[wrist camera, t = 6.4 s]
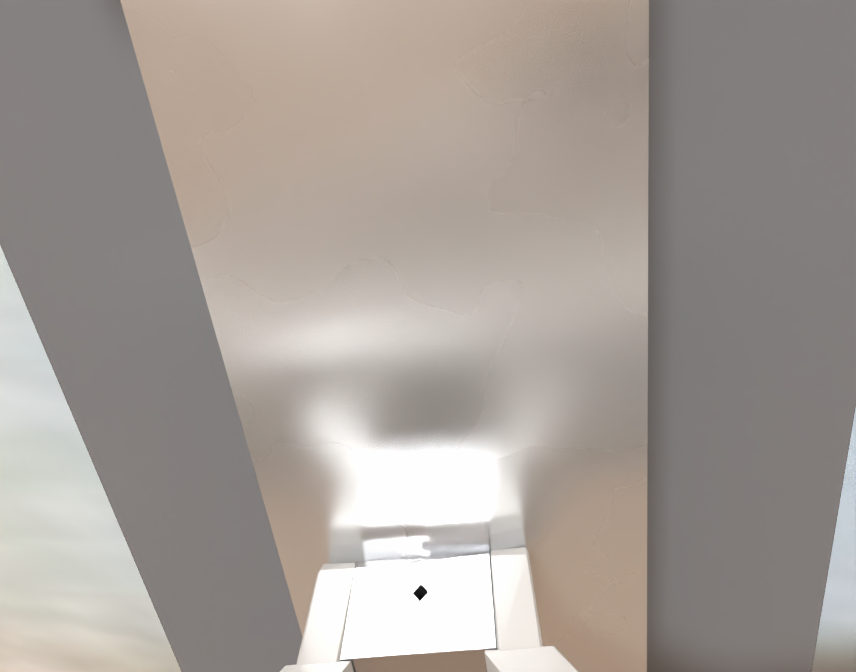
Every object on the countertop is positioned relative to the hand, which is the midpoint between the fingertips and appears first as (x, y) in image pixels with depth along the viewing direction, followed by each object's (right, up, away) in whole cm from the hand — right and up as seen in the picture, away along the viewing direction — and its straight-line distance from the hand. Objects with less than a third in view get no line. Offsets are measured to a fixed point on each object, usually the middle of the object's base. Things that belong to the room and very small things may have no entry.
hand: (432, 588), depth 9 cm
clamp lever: (0, +4, 0) cm, 4 cm away
